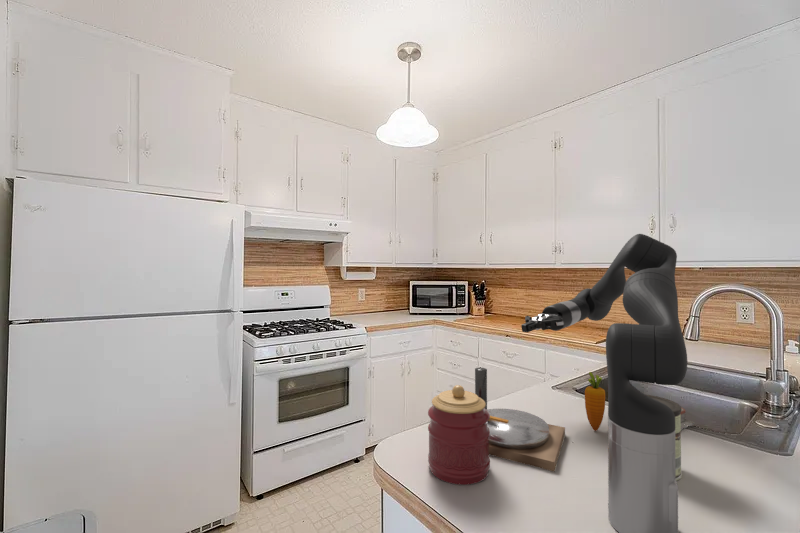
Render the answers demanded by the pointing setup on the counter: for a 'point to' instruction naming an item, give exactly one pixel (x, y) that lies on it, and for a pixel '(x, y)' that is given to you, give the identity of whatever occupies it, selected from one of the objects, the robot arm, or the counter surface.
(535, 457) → the base board
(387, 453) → the counter surface
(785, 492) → the counter surface
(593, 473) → the counter surface
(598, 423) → the carrot
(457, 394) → the canister
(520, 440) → the wheel
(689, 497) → the counter surface
